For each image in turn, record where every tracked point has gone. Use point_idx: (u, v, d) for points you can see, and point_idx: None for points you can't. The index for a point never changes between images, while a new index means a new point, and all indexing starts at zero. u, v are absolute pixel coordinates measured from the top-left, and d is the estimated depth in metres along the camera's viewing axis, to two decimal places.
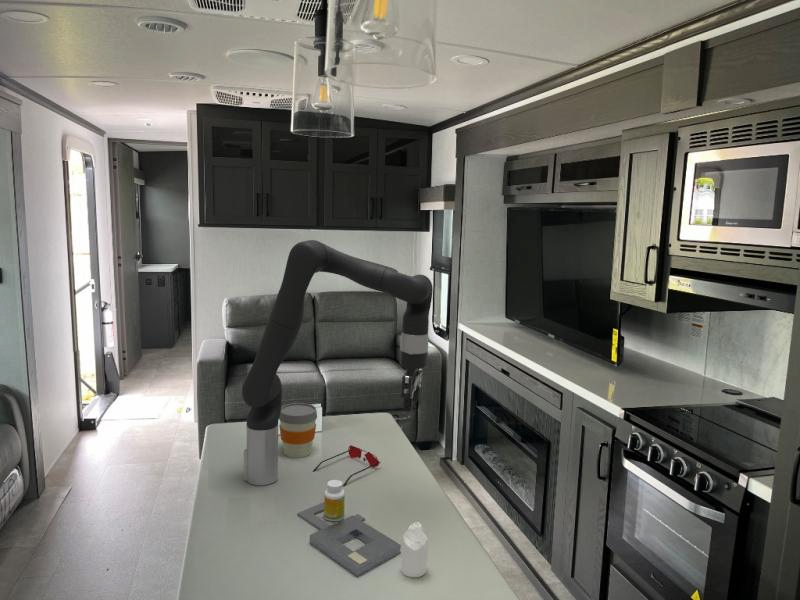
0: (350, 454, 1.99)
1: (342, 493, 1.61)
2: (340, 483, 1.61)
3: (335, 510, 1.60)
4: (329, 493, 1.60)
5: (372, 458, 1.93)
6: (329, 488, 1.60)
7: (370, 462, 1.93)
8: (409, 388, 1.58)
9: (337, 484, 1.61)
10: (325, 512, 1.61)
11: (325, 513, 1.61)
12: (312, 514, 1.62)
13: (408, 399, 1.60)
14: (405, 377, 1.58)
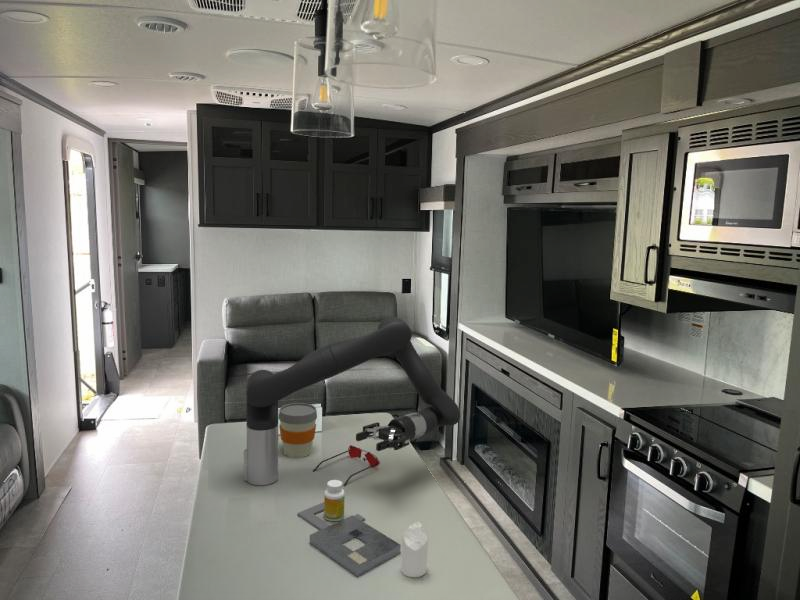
0: (350, 454, 1.99)
1: (342, 493, 1.61)
2: (340, 483, 1.61)
3: (335, 510, 1.60)
4: (329, 493, 1.60)
5: (372, 458, 1.93)
6: (329, 488, 1.60)
7: (370, 462, 1.93)
8: (402, 446, 1.68)
9: (337, 484, 1.61)
10: (325, 512, 1.61)
11: (325, 513, 1.61)
12: (312, 514, 1.62)
13: (389, 446, 1.67)
14: (409, 439, 1.70)
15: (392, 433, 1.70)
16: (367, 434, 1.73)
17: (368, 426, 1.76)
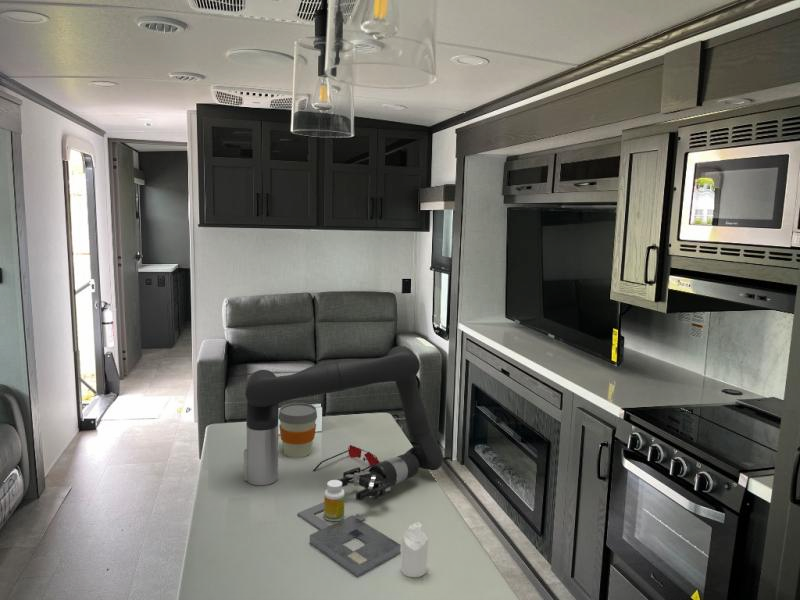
0: (350, 454, 1.99)
1: (342, 493, 1.61)
2: (340, 483, 1.61)
3: (335, 510, 1.60)
4: (329, 493, 1.60)
5: (372, 458, 1.93)
6: (329, 488, 1.60)
7: (370, 462, 1.94)
8: (383, 494, 1.66)
9: (337, 484, 1.61)
10: (325, 512, 1.61)
11: (325, 513, 1.61)
12: (312, 514, 1.62)
13: (369, 495, 1.64)
14: (390, 486, 1.68)
15: (373, 480, 1.68)
16: (347, 481, 1.71)
17: (349, 472, 1.73)
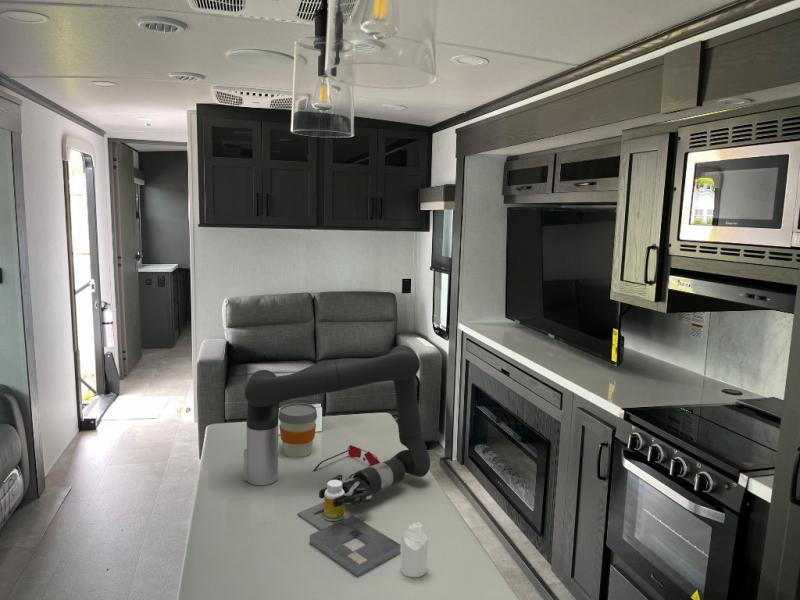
0: (350, 454, 1.99)
1: (342, 493, 1.61)
2: (340, 483, 1.61)
3: (335, 510, 1.60)
4: (329, 493, 1.60)
5: (372, 458, 1.93)
6: (329, 488, 1.60)
7: (370, 462, 1.94)
8: (362, 502, 1.61)
9: (337, 484, 1.61)
10: (325, 512, 1.61)
11: (325, 513, 1.61)
12: (312, 514, 1.62)
13: (347, 501, 1.60)
14: (371, 495, 1.62)
15: (354, 487, 1.63)
16: None
17: None
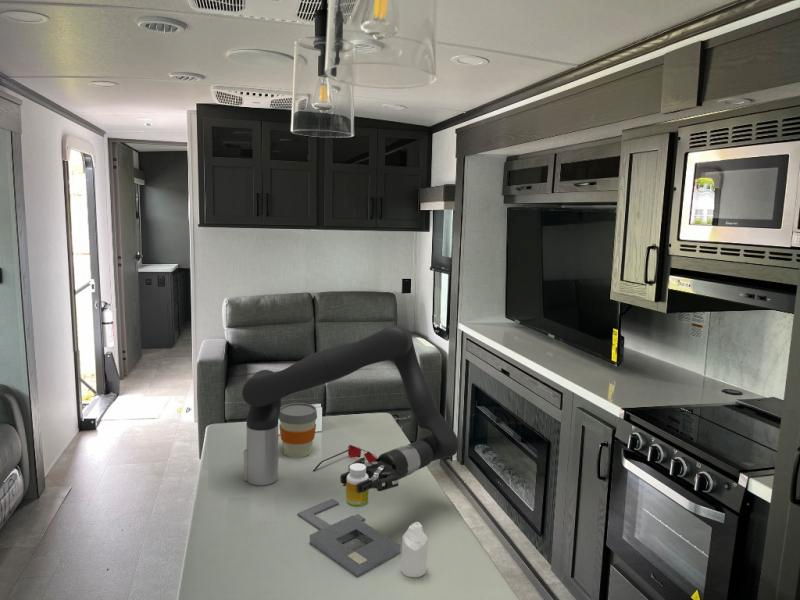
0: (349, 454, 1.99)
1: (366, 478, 1.45)
2: (364, 467, 1.46)
3: (359, 496, 1.44)
4: (352, 478, 1.44)
5: (372, 458, 1.93)
6: (352, 472, 1.44)
7: None
8: (388, 487, 1.45)
9: (361, 467, 1.45)
10: (347, 499, 1.46)
11: (347, 500, 1.46)
12: (312, 514, 1.62)
13: (372, 487, 1.44)
14: (398, 479, 1.47)
15: (378, 471, 1.48)
16: None
17: None
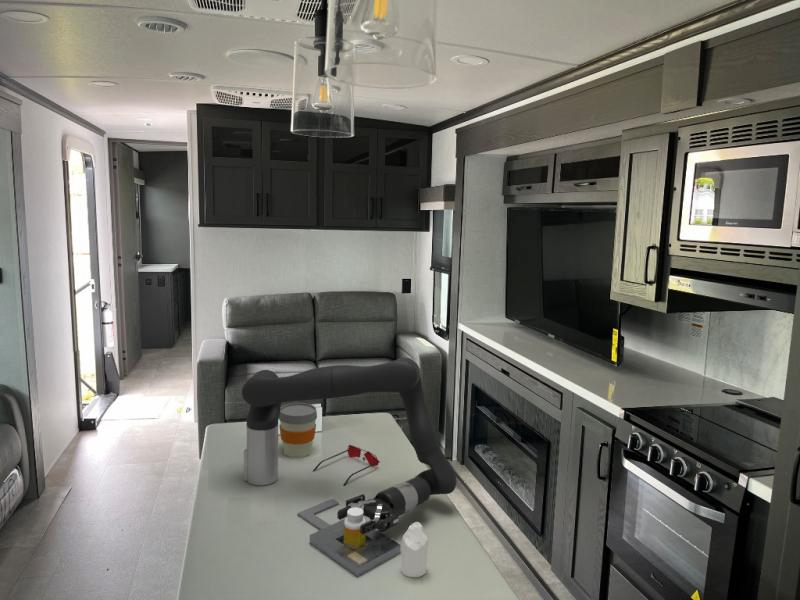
0: (349, 453, 1.99)
1: (363, 522, 1.47)
2: (361, 511, 1.48)
3: (356, 541, 1.46)
4: (349, 522, 1.46)
5: (372, 457, 1.93)
6: (349, 517, 1.46)
7: (369, 461, 1.94)
8: (390, 527, 1.47)
9: (358, 512, 1.47)
10: (345, 543, 1.48)
11: (345, 544, 1.48)
12: (312, 514, 1.62)
13: (375, 527, 1.45)
14: (398, 517, 1.49)
15: (379, 511, 1.49)
16: None
17: (352, 500, 1.55)
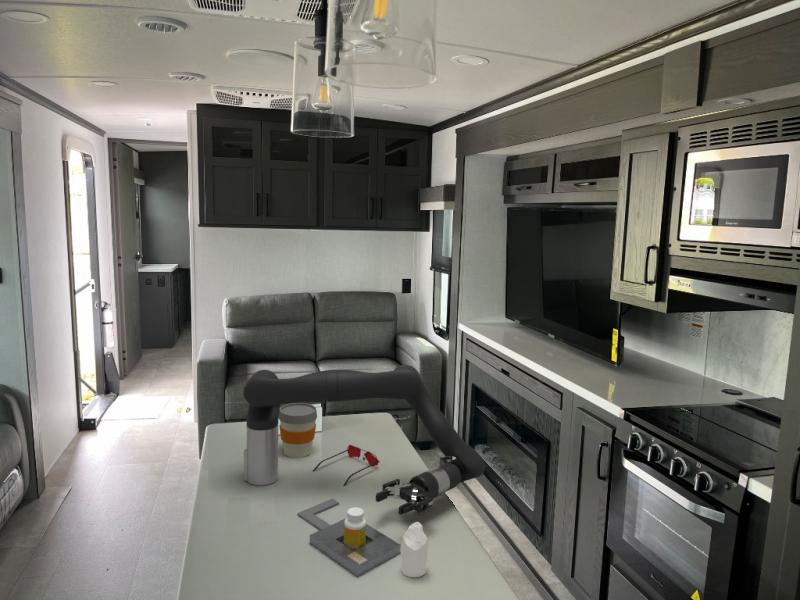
0: (349, 453, 2.00)
1: (364, 522, 1.47)
2: (361, 511, 1.48)
3: (356, 541, 1.46)
4: (349, 522, 1.46)
5: (371, 457, 1.93)
6: (349, 517, 1.46)
7: (369, 461, 1.94)
8: (426, 508, 1.56)
9: (358, 512, 1.47)
10: (345, 543, 1.48)
11: (345, 544, 1.48)
12: (312, 514, 1.62)
13: (412, 509, 1.55)
14: (433, 500, 1.58)
15: (415, 493, 1.58)
16: (387, 493, 1.61)
17: (388, 484, 1.64)
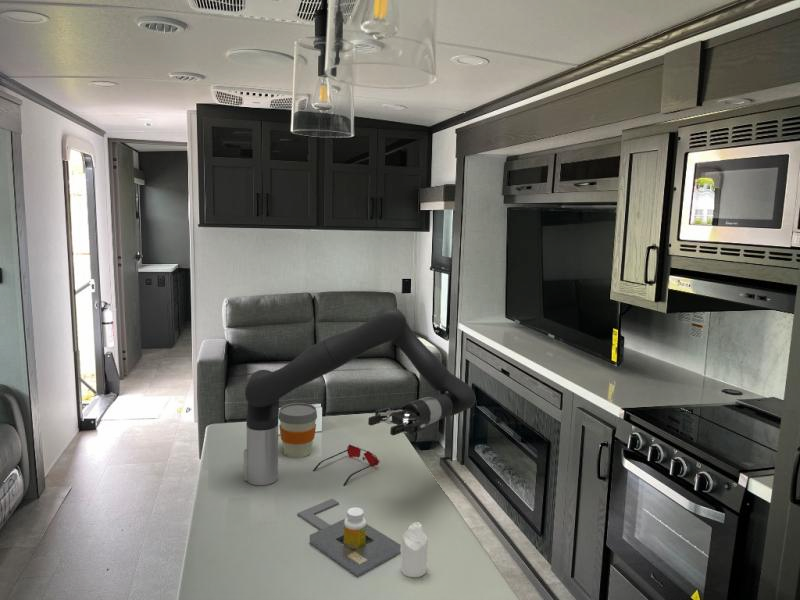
0: (349, 453, 2.00)
1: (363, 522, 1.47)
2: (361, 511, 1.48)
3: (356, 541, 1.46)
4: (349, 522, 1.46)
5: (371, 457, 1.93)
6: (349, 517, 1.46)
7: (369, 461, 1.94)
8: (418, 430, 1.59)
9: (358, 512, 1.47)
10: (345, 543, 1.48)
11: (345, 544, 1.48)
12: (312, 514, 1.62)
13: (404, 430, 1.58)
14: (424, 423, 1.61)
15: (407, 417, 1.62)
16: (380, 418, 1.65)
17: (381, 410, 1.67)
